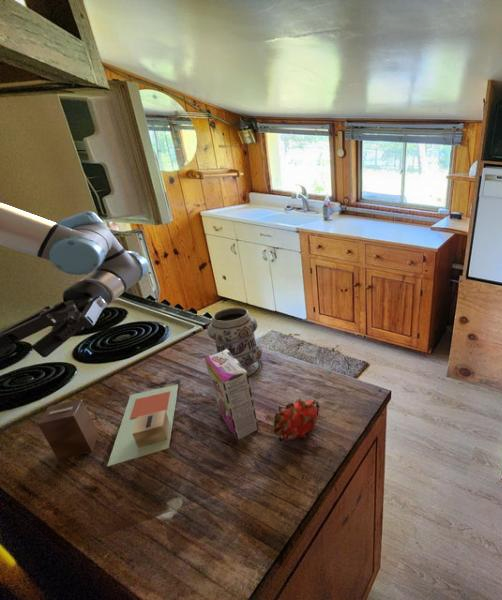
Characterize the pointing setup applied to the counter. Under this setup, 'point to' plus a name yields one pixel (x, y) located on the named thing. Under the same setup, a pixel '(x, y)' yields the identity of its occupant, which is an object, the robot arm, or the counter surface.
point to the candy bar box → (232, 393)
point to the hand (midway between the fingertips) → (5, 358)
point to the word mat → (136, 407)
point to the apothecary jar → (237, 337)
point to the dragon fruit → (296, 419)
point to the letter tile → (151, 428)
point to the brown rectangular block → (69, 429)
